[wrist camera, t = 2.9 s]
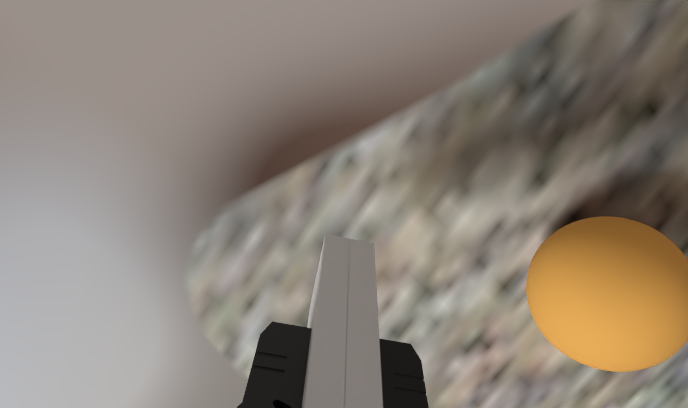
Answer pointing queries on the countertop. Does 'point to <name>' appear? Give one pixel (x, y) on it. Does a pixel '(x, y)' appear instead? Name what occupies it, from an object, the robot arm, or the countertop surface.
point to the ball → (610, 293)
